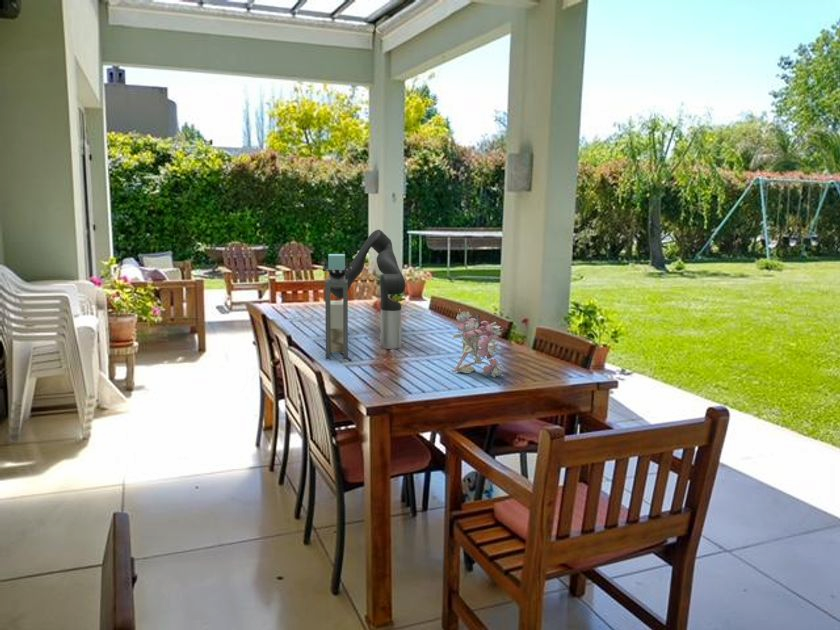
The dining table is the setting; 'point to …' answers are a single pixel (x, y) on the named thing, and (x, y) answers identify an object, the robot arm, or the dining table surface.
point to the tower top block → (336, 314)
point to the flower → (485, 344)
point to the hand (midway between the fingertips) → (337, 259)
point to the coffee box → (474, 334)
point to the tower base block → (336, 340)
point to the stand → (329, 284)
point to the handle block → (336, 262)
